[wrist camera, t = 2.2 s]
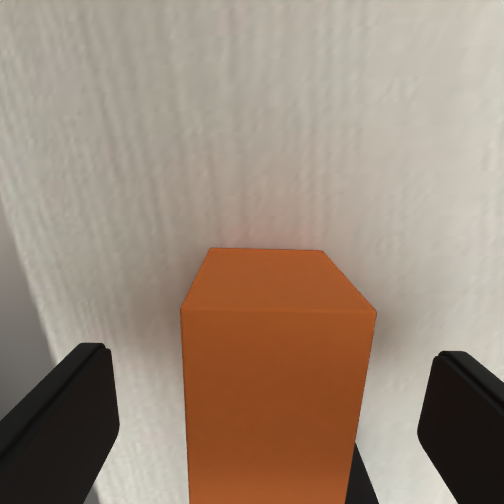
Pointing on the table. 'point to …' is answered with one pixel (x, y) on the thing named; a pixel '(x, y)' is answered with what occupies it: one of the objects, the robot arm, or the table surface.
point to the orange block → (272, 377)
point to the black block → (359, 483)
